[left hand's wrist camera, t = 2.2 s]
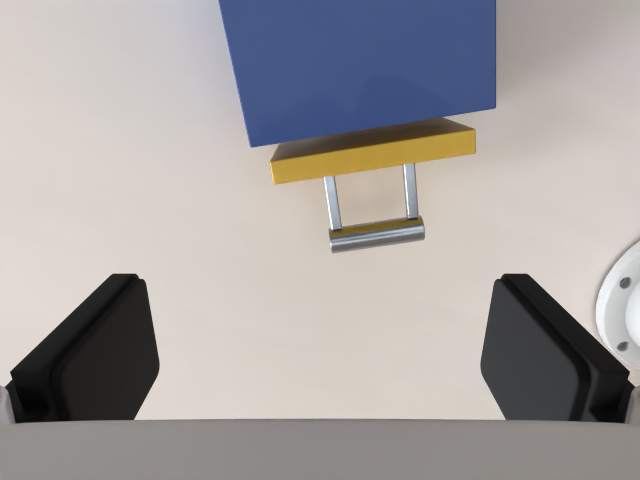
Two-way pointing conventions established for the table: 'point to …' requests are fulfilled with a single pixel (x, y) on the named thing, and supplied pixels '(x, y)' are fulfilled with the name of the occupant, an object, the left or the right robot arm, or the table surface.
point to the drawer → (366, 154)
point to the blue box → (358, 63)
